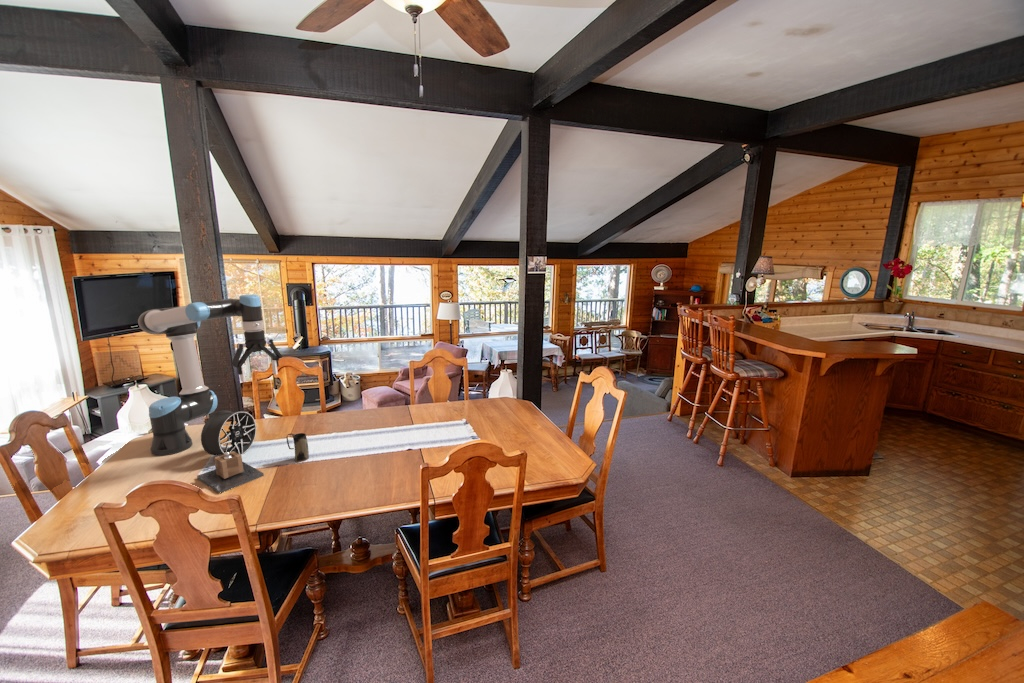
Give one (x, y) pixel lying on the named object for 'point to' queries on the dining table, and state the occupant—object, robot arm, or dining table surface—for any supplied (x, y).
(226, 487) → the shaft stand
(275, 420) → the dining table surface
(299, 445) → the mug
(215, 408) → the robot arm
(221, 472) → the hollow wooden cube
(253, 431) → the wheel rim
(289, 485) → the dining table surface
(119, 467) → the dining table surface
